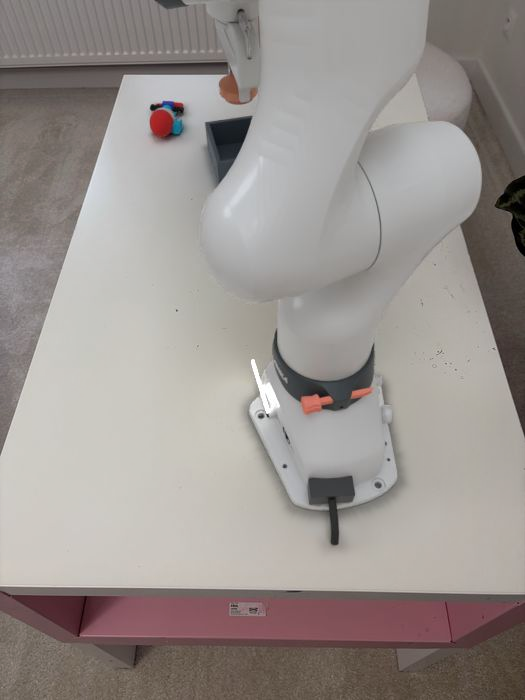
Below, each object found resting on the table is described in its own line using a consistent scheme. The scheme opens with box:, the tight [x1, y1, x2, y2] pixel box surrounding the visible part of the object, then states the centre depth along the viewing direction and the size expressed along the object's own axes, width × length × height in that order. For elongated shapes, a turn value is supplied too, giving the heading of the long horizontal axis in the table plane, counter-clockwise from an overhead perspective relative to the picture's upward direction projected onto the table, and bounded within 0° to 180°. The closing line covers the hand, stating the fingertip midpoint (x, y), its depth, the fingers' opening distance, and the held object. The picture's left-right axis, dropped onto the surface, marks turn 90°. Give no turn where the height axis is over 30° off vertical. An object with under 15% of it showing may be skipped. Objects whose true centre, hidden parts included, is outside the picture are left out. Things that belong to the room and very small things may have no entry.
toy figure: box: [149, 100, 185, 138], centre depth 109 cm, size 8×5×15 cm
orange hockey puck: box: [218, 73, 259, 106], centre depth 90 cm, size 7×7×2 cm
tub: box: [204, 114, 253, 186], centre depth 101 cm, size 14×14×6 cm
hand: (239, 87), depth 89 cm, fingers closed on orange hockey puck, 7 cm apart
